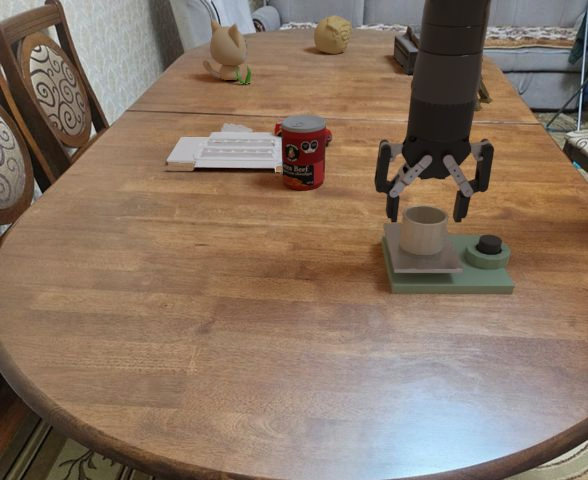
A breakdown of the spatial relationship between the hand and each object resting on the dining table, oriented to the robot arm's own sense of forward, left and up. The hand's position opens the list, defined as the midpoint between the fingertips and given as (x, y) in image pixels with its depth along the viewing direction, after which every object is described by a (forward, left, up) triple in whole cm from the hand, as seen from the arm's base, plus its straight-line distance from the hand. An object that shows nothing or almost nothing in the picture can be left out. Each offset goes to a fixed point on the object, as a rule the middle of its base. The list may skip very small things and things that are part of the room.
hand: (425, 220), depth 74 cm
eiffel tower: (-24, -80, -7) cm, 84 cm away
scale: (-3, 0, -7) cm, 8 cm away
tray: (+30, -45, -7) cm, 54 cm away
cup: (0, 0, -4) cm, 4 cm away
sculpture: (+8, -139, -7) cm, 139 cm away
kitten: (+38, -103, -7) cm, 110 cm away
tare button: (-9, 0, -5) cm, 10 cm away
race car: (+17, -52, -7) cm, 55 cm away
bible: (-22, -120, -7) cm, 122 cm away
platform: (0, 0, -4) cm, 4 cm away
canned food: (+17, -30, -7) cm, 35 cm away
